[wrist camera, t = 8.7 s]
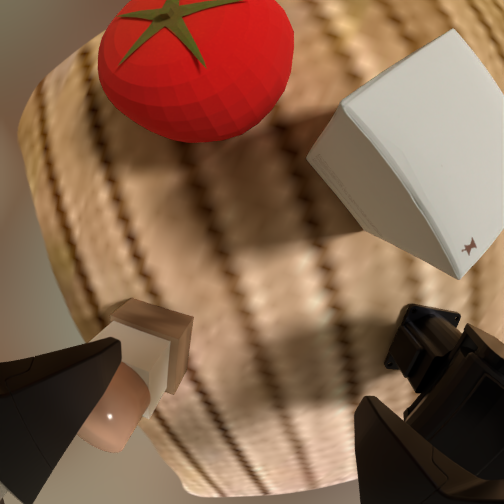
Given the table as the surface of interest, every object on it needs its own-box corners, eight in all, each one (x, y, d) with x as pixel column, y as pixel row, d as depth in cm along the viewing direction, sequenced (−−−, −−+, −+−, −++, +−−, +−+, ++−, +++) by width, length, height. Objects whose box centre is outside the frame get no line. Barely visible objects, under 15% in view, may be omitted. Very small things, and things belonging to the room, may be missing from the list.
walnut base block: (194, 316, 23) (179, 339, 19) (187, 368, 24) (174, 394, 20) (132, 297, 23) (109, 315, 19) (131, 349, 25) (112, 371, 21)
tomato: (253, 174, 20) (226, 157, 9) (122, 123, 20) (33, 96, 9) (312, 52, 17) (331, -33, 7) (180, 17, 17) (131, -51, 7)
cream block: (170, 341, 19) (149, 371, 15) (166, 387, 20) (149, 419, 16) (113, 320, 19) (85, 344, 15) (115, 367, 20) (92, 393, 17)
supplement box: (426, 175, 18) (545, 175, 6) (363, 233, 20) (458, 290, 8) (370, 100, 17) (455, 23, 5) (301, 155, 19) (334, 103, 7)
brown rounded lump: (150, 371, 15) (118, 418, 11) (151, 419, 16) (128, 462, 12) (86, 345, 15) (48, 380, 11) (94, 395, 17) (65, 430, 12)
